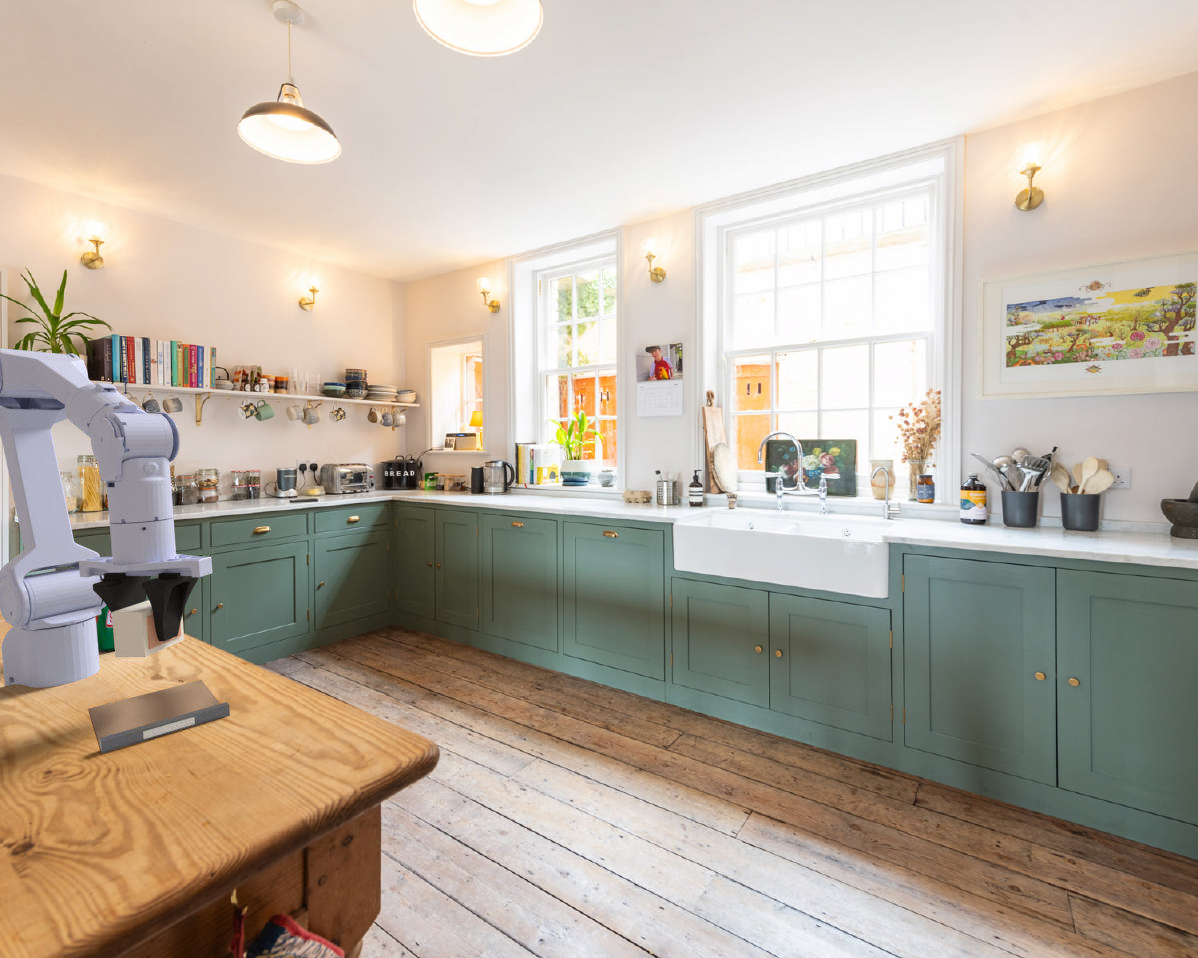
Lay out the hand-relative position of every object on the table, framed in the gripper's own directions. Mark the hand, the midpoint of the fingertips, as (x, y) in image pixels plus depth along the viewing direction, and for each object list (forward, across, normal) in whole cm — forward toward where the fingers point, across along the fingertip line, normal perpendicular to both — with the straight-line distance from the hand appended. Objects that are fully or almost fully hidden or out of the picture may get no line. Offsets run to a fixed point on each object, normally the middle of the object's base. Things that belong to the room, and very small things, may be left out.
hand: (151, 638), depth 67 cm
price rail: (+8, +6, -5) cm, 11 cm away
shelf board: (+10, +1, -1) cm, 10 cm away
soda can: (+10, -28, +23) cm, 37 cm away
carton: (+1, 0, 0) cm, 1 cm away
